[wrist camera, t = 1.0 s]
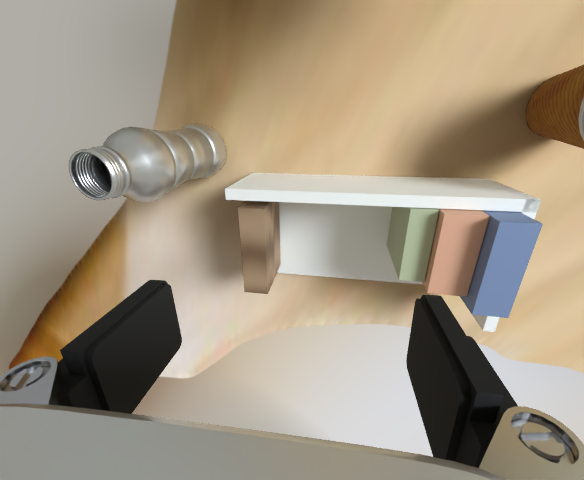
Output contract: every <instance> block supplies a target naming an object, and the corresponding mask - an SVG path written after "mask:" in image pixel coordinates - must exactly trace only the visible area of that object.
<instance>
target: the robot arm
mask: <svg viewBox="0 0 584 480" xmlns="http://www.w3.org/2000/svg"><path fill="white" fill-rule="evenodd" d="M181 342H182V338H181V333H180V328H179V323H178V318H177V313H176V309H175V304H174V299H173V294H172V289H171V286H170V285H169V284H167V282H166V281H162V280H149V281H148V282H146V283H145V284H144V285H143V286H141V287H140V288H139V289H137V290H136V291H135V292H134V293H132V294H131V295H130V296H129V297H127V298H126V299H125V300H123V301H122V302H121V303H120V304H118V305H117V306H116V307H115V308H113V309H112V310H111V311H109V312H108V313H107V314H106V315H104V316H103V317H102V318H101V319H99V320H98V321H97V322H95V323H94V324H93V325H92V326H90V327H89V328H88V329H87V330H85V331H84V332H83V333H81V334H80V335H79V336H78V337H76V338H75V339H74V340H73V341H71V342H70V343H69V344H67V345H66V346H65V347H64V348H62V349H61V350H60V351H61V354H62V356H63V359H62V360H61V361H59V362H58V361H57V360H56V359H55V358H53V357H39V358H35V359H31V360H29V361H26V362H23V363H21V364H19V365H17V366H15V367H13V368H12V369H10V370H9V371H7V372H6V373H4V374H3V375H2V376H1V377H0V480H584V445H583V443H582V442H581V441H580V440H579V439H578V437H577V436H576V435H575V434H574V433H573V432H572V431H571V430H570V429H569V428H567V427H566V426H565V425H564V424H562V423H561V422H559V421H558V420H556V419H555V418H553V417H551V416H550V415H548V414H545V413H543V412H541V411H539V410H536V409H532V408H528V407H518V406H517V404H516V402H515V401H514V400H513V398H512V396H511V395H510V393H509V392H508V390H507V389H506V387H505V386H504V384H503V383H502V381H501V380H500V378H499V377H498V375H497V374H496V372H495V371H494V370H493V368H492V366H491V365H490V363H489V362H488V360H487V358H486V357H485V356H484V354H483V352H482V351H481V349H480V348H479V346H478V345H477V343H476V342H475V340H474V339H473V338H472V337H470V336H466V334H465V333H464V331H463V330H462V328H461V326H460V325H459V323H458V322H457V320H456V319H455V317H454V315H453V314H452V312H451V311H450V309H449V308H448V306H447V304H446V303H445V301H444V300H443V298H442V297H441V296H437V295H422V297H421V299H416V301H415V307H414V313H413V320H412V327H411V333H410V340H409V346H408V354H407V369H408V373H409V376H410V379H411V383H412V386H413V390H414V393H415V396H416V399H417V403H418V407H419V410H420V413H421V417H422V420H423V423H424V426H425V430H426V433H427V437H428V440H429V444H430V447H431V450H432V454H433V457H430V456H425V455H421V454H414V453H408V452H402V451H395V450H389V449H382V448H376V447H370V446H364V445H357V444H350V443H343V442H336V441H329V440H322V439H314V438H307V437H300V436H293V435H286V434H278V433H272V432H264V431H257V430H249V429H242V428H234V427H227V426H220V425H213V424H205V423H197V422H190V421H182V420H175V419H167V418H159V417H152V416H144V415H136V414H132V412H133V411H134V410H135V408H136V407H137V406H138V404H139V403H140V401H141V400H142V398H143V397H144V396H145V395H146V393H147V392H148V390H149V389H150V388H151V386H152V385H153V384H154V382H155V381H156V379H157V378H158V377H159V375H160V374H161V373H162V371H163V370H164V369H165V367H166V366H167V365H168V363H169V362H170V360H171V359H172V358H173V356H174V355H175V354H176V352H177V351H178V350H179V348H180V346H181Z"/></svg>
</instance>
